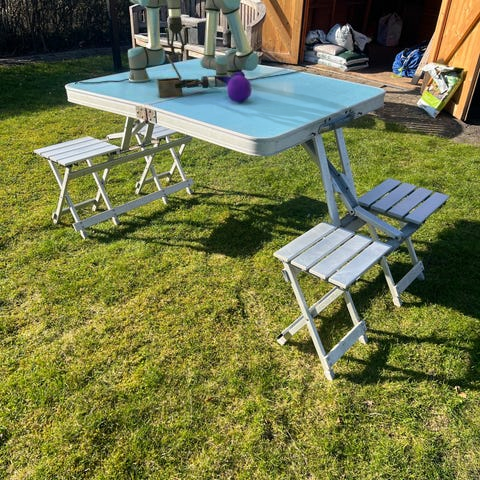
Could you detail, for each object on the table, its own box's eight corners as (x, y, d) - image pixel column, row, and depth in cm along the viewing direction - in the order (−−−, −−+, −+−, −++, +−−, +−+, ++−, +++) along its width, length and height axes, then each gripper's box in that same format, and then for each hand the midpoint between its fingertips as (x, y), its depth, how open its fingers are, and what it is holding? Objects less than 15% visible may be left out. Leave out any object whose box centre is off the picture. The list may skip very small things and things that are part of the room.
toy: (237, 93, 295) (251, 108, 274) (212, 89, 288) (224, 103, 267) (243, 69, 287) (258, 82, 266) (217, 64, 279) (231, 76, 259)
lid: (167, 56, 280) (179, 49, 279) (165, 54, 287) (177, 48, 287) (180, 79, 288) (191, 73, 288) (178, 77, 296) (189, 70, 296)
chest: (159, 97, 290) (158, 81, 285) (158, 94, 298) (156, 79, 293) (182, 96, 294) (181, 80, 289) (180, 93, 301) (179, 77, 296)
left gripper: (188, 15, 279) (190, 55, 291) (159, 16, 275) (163, 57, 287) (190, 16, 273) (192, 57, 285) (161, 17, 269) (165, 59, 281)
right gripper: (211, 91, 291) (177, 94, 286) (204, 84, 309) (172, 87, 304) (210, 79, 287) (176, 81, 282) (204, 73, 305) (171, 75, 301)
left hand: (178, 57), depth 286 cm, fingers open, 4 cm apart
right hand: (174, 84), depth 293 cm, fingers closed on chest, 9 cm apart
